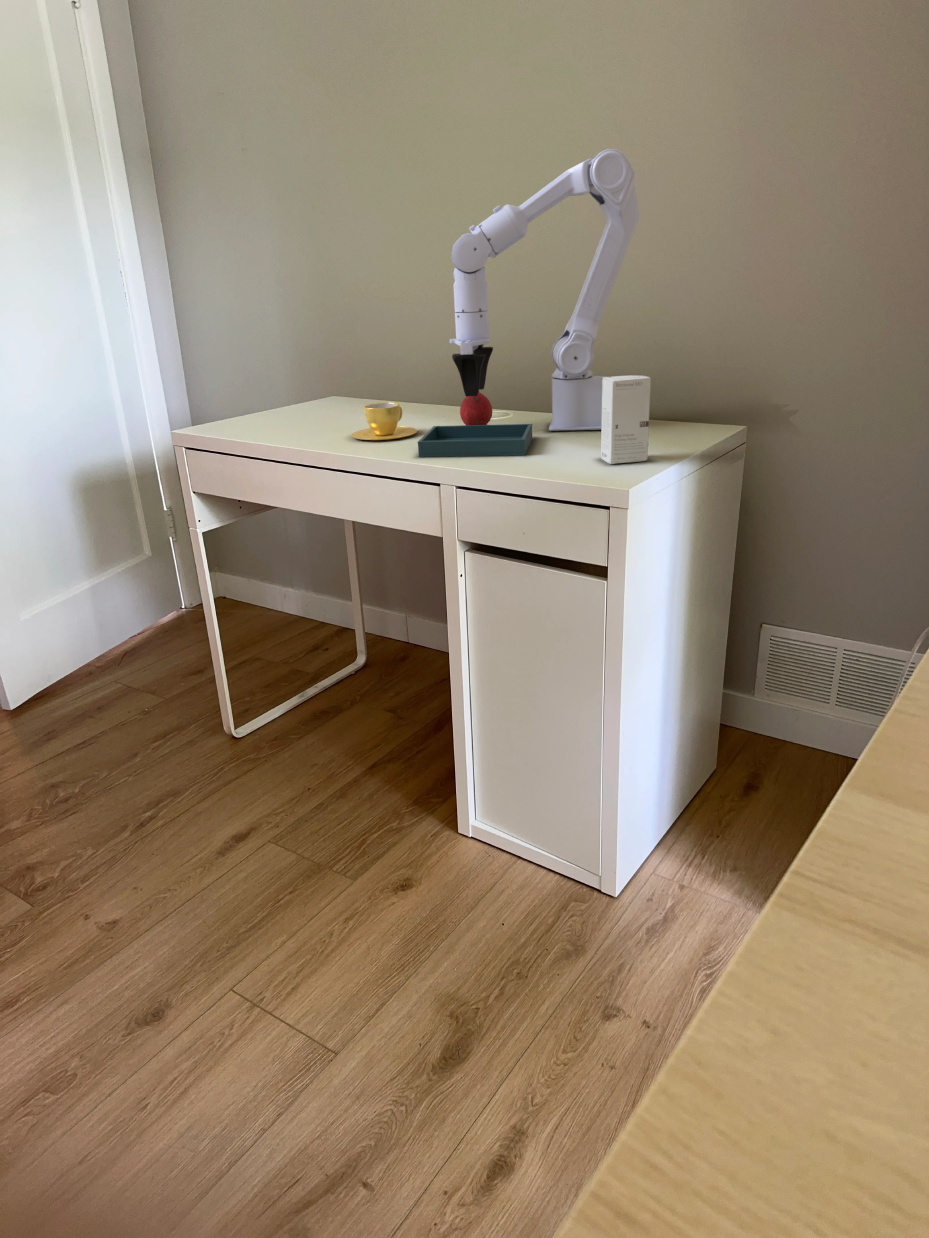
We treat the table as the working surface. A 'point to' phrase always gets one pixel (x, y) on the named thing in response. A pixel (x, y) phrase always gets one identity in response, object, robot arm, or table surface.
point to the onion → (476, 410)
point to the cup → (383, 423)
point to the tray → (476, 440)
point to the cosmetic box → (625, 418)
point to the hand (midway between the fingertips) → (474, 392)
